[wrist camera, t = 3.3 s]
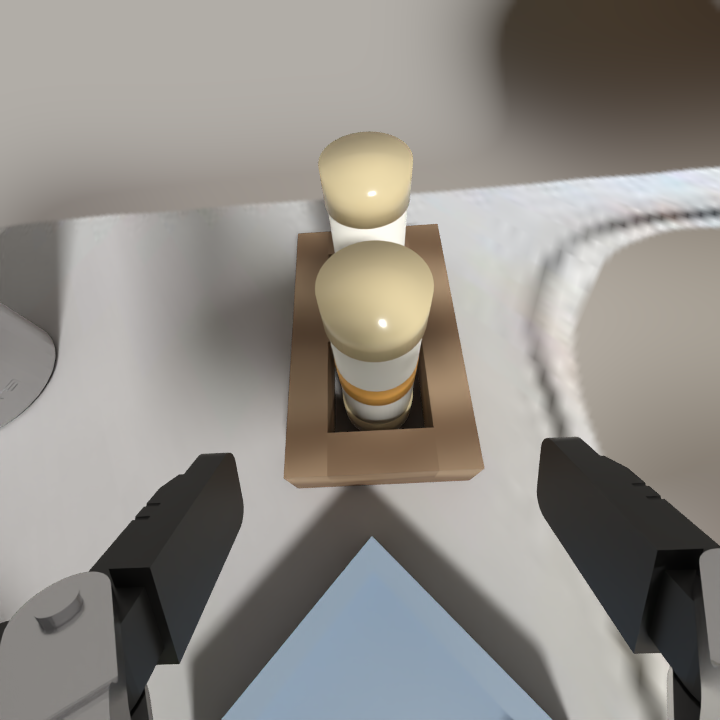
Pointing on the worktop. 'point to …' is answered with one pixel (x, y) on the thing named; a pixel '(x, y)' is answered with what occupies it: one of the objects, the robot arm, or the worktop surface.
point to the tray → (381, 658)
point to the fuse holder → (381, 447)
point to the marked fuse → (375, 327)
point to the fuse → (366, 188)
